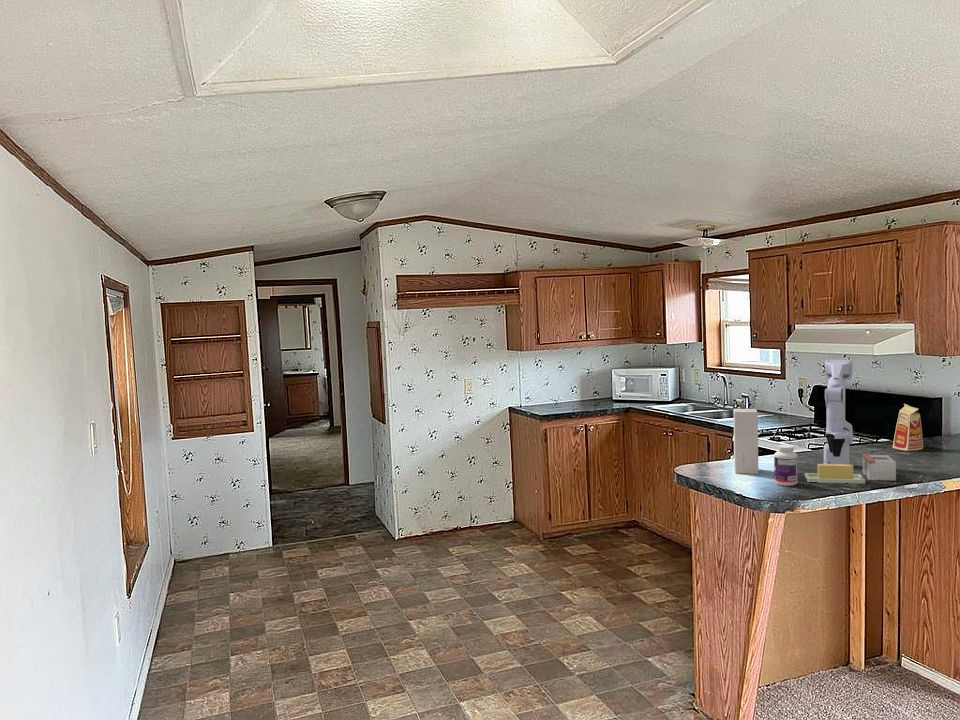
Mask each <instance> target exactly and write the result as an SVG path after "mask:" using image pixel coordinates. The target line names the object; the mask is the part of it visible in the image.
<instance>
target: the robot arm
mask: <svg viewBox="0 0 960 720" xmlns="http://www.w3.org/2000/svg"><path fill="white" fill-rule="evenodd" d="M824 362H825V363H824V370H825V371H824V372H825V377H826V378H827V379H828V380H827V386H826V387H827V388H825V389H824V400H825V407H826V409H825V410H826V427H825V429H826V430H825V433H824V436H825V442H826V443H827V444H824V445H823V464H850V445H851V444H853V442H854V441H853V440H854V431H853V425H852V424H851V423H849V422H848V421H847V420H846V384H847V381H849V380H852V378H853V360H852V359H827V358H826V360H825V361H824Z"/></svg>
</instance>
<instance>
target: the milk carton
mask: <svg viewBox="0 0 960 720" xmlns="http://www.w3.org/2000/svg"><path fill="white" fill-rule="evenodd" d="M903 405H904V406H903V407H902V408H901V409H899V411H898V417H897V422H896V426H895V431H894V438H893V442H892V449H895V450H901V451H907V452H908V451H920V450H923V449H924V440H923V429H922V420H921V414H920V412H919V411H918V410H919V409H920V408H918V407H914V406H910V405H909V404H906V403H903Z"/></svg>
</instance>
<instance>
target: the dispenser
mask: <svg viewBox="0 0 960 720" xmlns="http://www.w3.org/2000/svg"><path fill="white" fill-rule="evenodd" d="M861 455H862V457H861V460H862V461H861V462H862V463H861V465H862V468H861V470H862V471H861V472H862V474H863V475H864V476H866V478H867V479H868V480H869V481H889V482H890V481H894V482H895V481H897V462H896V461H895V460H894V459H893V458H892V457H891V456H889V455H888V454H868V453H862V454H861Z"/></svg>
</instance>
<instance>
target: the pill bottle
mask: <svg viewBox="0 0 960 720" xmlns="http://www.w3.org/2000/svg"><path fill="white" fill-rule="evenodd" d="M794 448H795V447H794V445H791V444H790V445H789V444H778V445H777V451H776V452H775V453H774V454H773V455H774V461H773V462H774V463H773V464H774V471H773V474H774V475H773V476H774V477H773V478H774V481H773V482H775V484H776V485H779V486H784V487H791V486H796V485H797V484H798V454H797V452H795V451H794Z"/></svg>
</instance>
